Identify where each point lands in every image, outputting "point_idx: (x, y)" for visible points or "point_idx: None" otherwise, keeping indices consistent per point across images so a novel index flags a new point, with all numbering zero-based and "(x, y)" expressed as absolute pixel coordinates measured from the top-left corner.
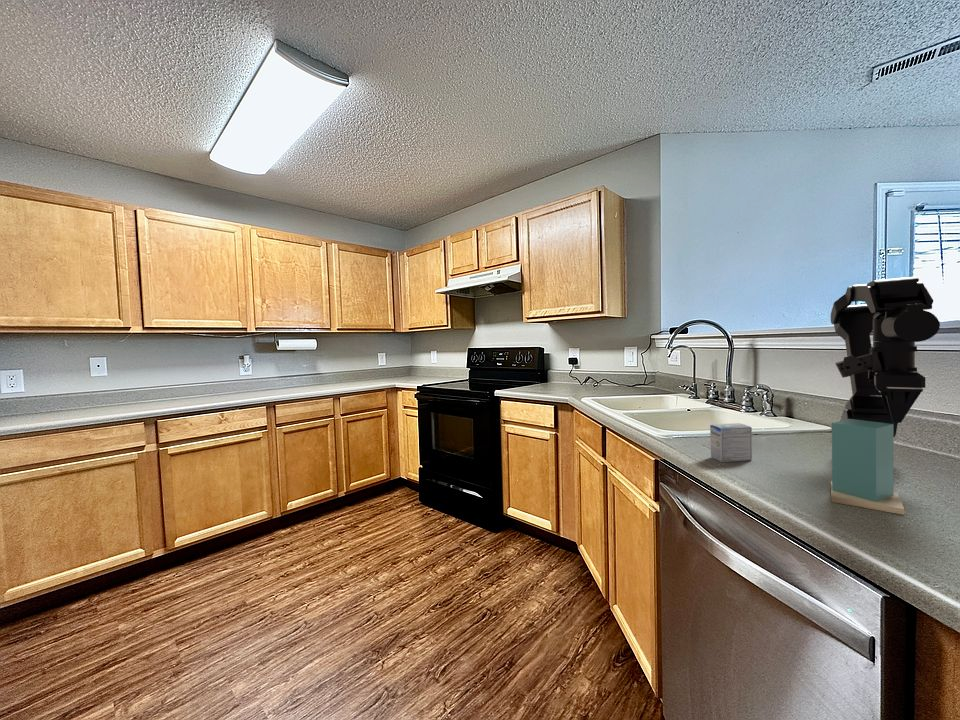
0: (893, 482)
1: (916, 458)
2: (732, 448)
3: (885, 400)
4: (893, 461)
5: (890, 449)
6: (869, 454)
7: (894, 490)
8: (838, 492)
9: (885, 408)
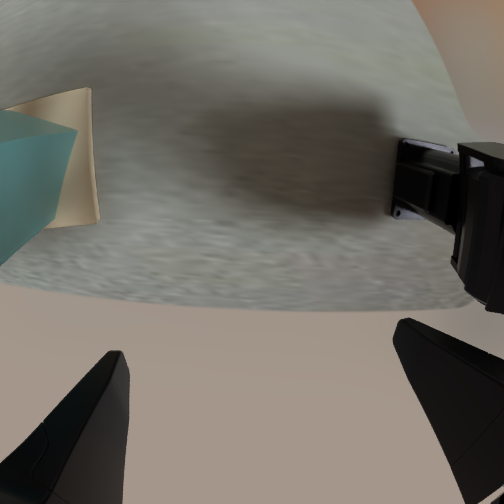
0: (39, 230)
1: (452, 267)
2: None
3: (456, 367)
4: (10, 256)
5: None
6: None
7: (91, 220)
8: None
9: (420, 334)
